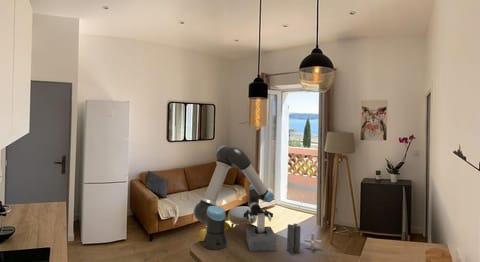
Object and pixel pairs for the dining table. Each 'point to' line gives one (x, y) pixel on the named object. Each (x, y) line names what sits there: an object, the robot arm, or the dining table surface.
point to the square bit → (260, 223)
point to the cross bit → (293, 238)
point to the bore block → (261, 239)
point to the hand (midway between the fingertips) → (260, 219)
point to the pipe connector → (312, 241)
